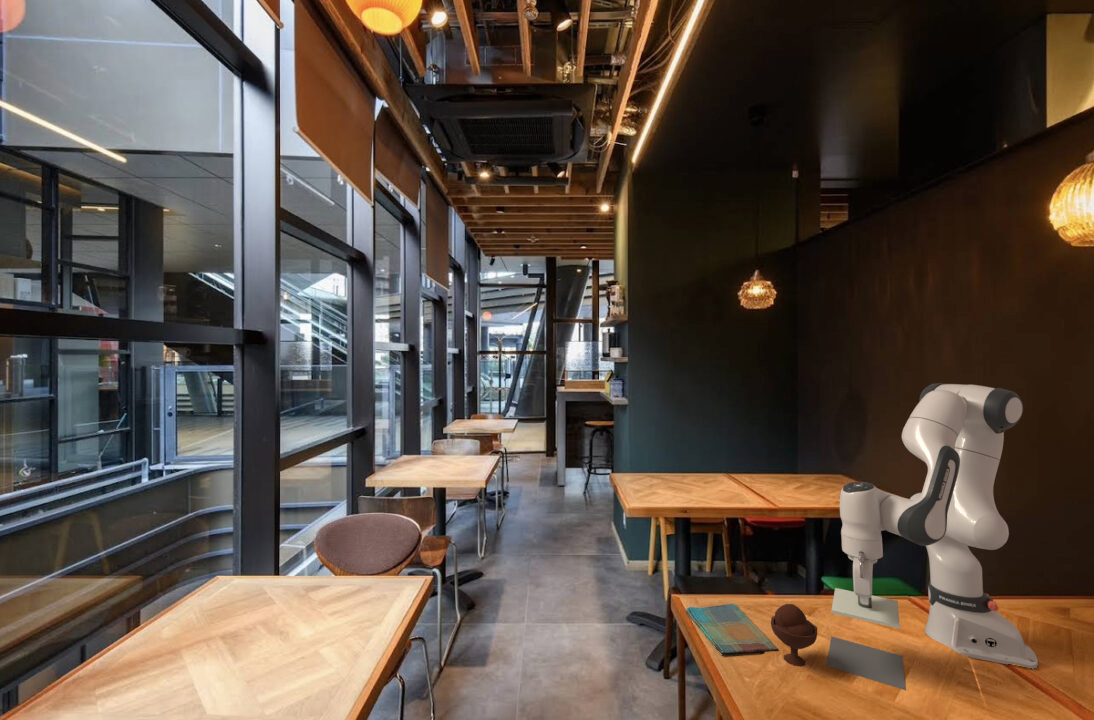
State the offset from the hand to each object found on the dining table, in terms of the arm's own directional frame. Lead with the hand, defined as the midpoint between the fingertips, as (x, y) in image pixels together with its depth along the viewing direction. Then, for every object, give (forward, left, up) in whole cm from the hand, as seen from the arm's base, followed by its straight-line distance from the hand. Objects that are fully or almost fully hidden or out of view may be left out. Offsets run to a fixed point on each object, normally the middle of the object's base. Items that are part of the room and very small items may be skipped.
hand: (864, 599), depth 120 cm
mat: (0, 0, -16) cm, 16 cm away
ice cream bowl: (+15, +10, -16) cm, 25 cm away
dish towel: (+33, +5, -17) cm, 37 cm away
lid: (0, 0, -2) cm, 2 cm away
